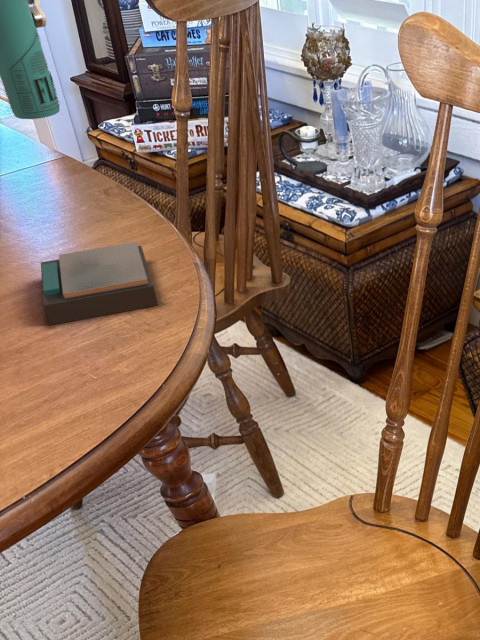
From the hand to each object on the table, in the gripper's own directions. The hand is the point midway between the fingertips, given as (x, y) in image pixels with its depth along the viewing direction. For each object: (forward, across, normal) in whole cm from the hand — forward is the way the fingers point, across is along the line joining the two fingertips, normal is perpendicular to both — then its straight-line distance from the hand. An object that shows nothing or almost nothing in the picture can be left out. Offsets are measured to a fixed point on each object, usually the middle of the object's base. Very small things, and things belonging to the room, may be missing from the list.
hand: (12, 29), depth 100 cm
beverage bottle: (+8, 0, +9) cm, 12 cm away
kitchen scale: (+35, -8, +1) cm, 36 cm away
